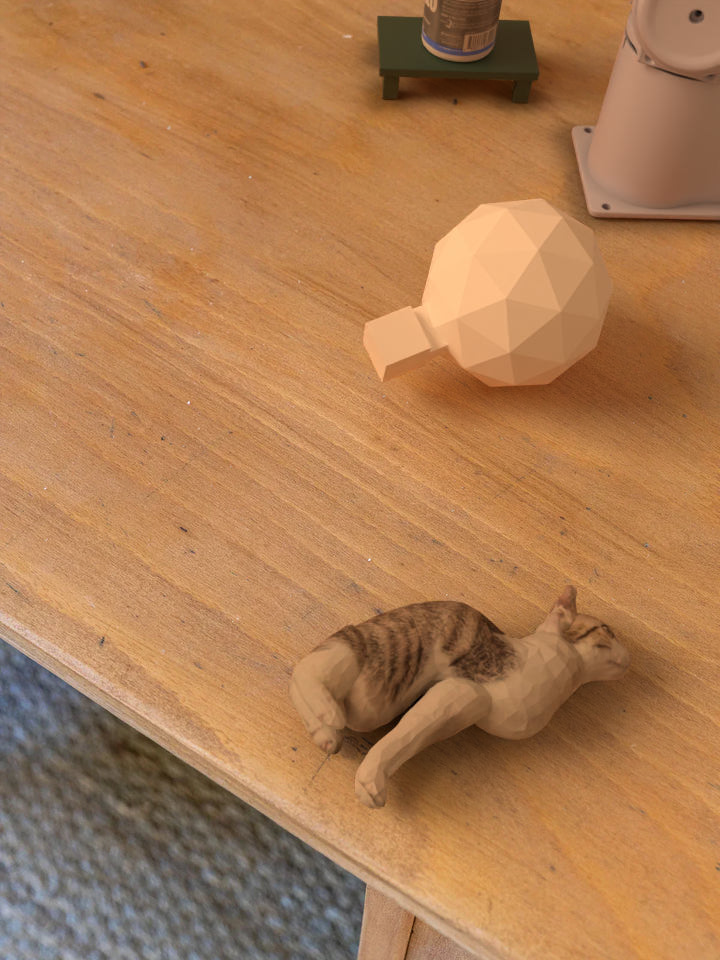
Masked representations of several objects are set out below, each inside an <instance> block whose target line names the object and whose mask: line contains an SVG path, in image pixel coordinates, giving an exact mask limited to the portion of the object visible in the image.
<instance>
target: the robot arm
mask: <svg viewBox="0 0 720 960" xmlns="http://www.w3.org/2000/svg"><path fill="white" fill-rule="evenodd" d="M625 23H626V24H625V26H624V27H625V28H624V30H623V34H622V37H621V40H620V44H619V47H618V51H617V54H616V58H615V60H614V64H613V68H612V71H611V75H610V78H609V81H608V84H607V88H606V91H605V95H604V97H603V101H602V105H601V107H600V108H601V109H600V112H599V115H598V118H597V121H596V125H575V126H573V127H572V129H571V133H570V134H571V135H570V136H571V139H572V144H573V149H574V153H575V158H576V163H577V168H578V171H579V177H580V181H581V184H582V185H581V186H582V190H583V195H584V199H585V203H586V204H585V205H586V209H587V212H588V214H589V215H590V216H591V217H595V218H611V219H612V218H613V219H614V218H615V219H656V220H700V221H702V220H703V221H720V0H632V4H631V9H630V11H629V13H628V16H627V20H626V22H625Z"/></svg>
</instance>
